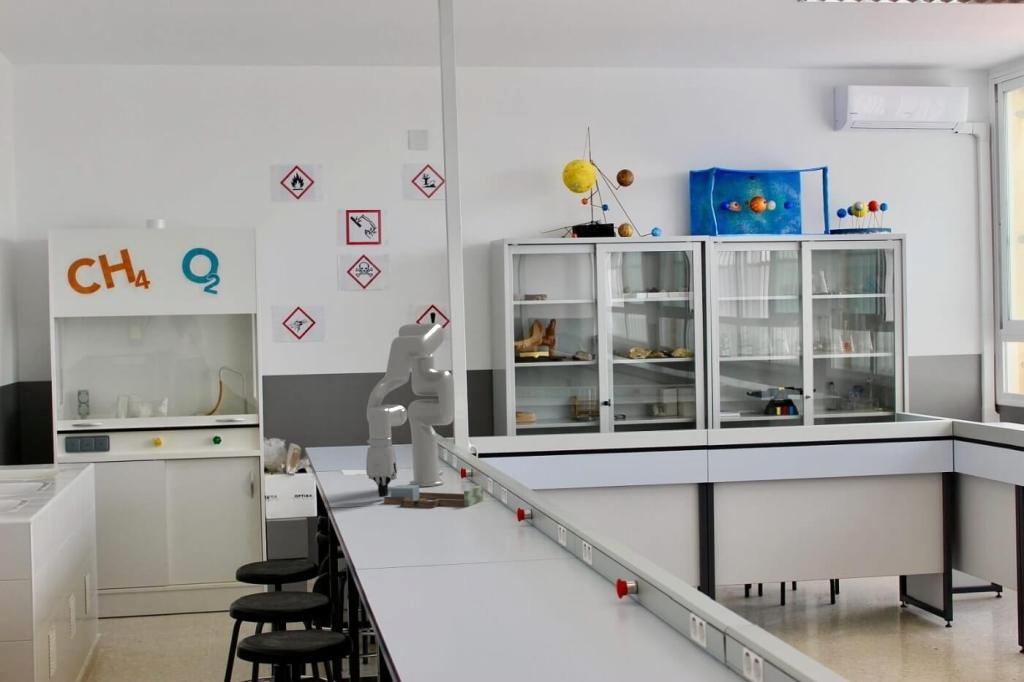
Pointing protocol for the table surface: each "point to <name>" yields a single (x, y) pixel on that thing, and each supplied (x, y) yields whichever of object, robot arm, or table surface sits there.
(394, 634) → the table surface
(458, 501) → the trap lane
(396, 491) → the slate block
